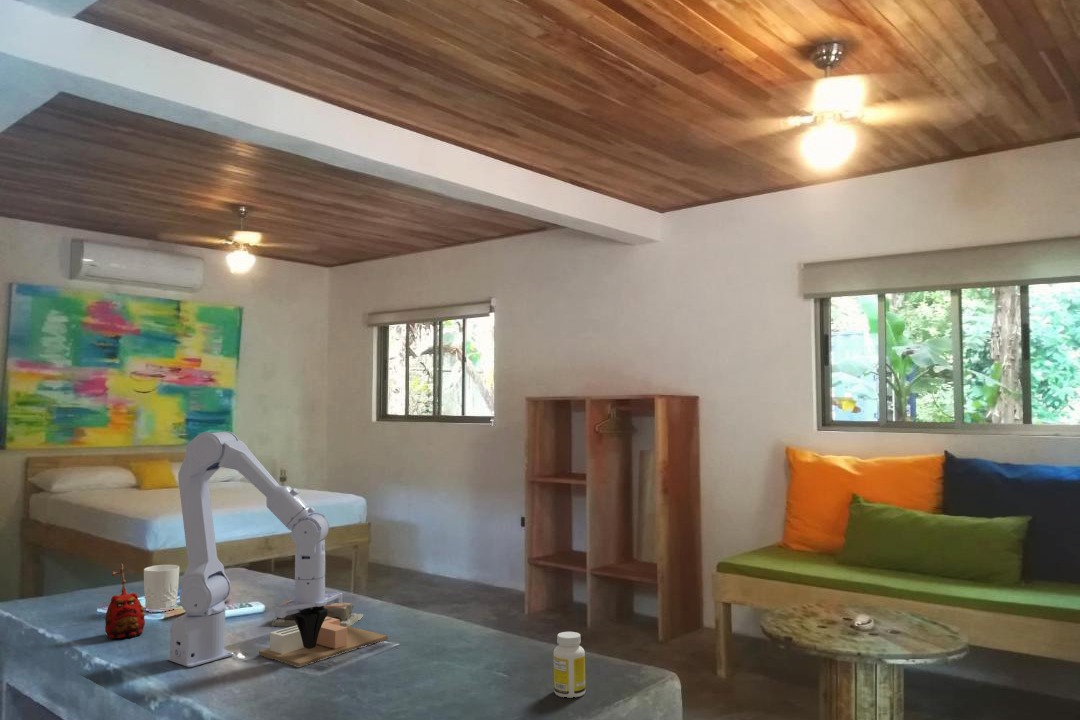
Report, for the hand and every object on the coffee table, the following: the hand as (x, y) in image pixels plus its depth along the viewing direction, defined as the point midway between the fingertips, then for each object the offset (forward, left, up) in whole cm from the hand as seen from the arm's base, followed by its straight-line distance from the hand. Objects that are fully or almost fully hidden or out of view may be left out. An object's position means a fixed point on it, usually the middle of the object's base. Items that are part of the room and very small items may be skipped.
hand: (309, 647), depth 157 cm
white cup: (+2, +60, -2) cm, 60 cm away
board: (+6, +3, -2) cm, 7 cm away
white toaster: (0, +6, -2) cm, 6 cm away
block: (+8, +3, -1) cm, 8 cm away
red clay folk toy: (-14, +45, -2) cm, 47 cm away
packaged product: (+18, +20, -3) cm, 27 cm away
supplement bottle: (+14, -52, -2) cm, 54 cm away
